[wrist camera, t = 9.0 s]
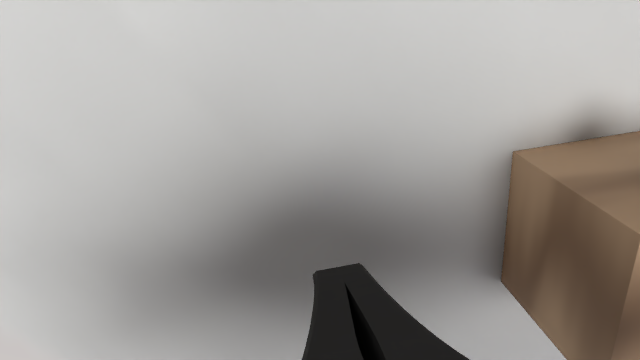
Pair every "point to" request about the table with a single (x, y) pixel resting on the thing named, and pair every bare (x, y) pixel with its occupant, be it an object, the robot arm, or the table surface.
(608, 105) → the table surface
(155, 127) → the table surface
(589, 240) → the cabinet
